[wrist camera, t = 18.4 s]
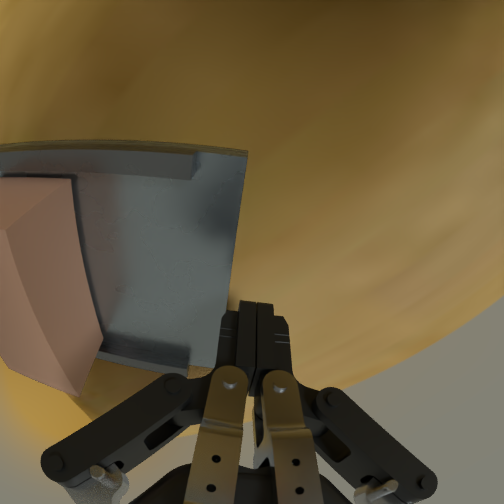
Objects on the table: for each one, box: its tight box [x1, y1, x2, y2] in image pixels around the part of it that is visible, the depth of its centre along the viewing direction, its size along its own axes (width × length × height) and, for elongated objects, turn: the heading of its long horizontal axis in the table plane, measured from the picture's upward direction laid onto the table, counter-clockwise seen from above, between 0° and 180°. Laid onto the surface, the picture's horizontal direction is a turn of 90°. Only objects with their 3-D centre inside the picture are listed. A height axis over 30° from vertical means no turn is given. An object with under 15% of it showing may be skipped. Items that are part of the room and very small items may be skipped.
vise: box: [0, 140, 248, 377], centre depth 12 cm, size 26×14×6 cm, turn 81°
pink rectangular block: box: [0, 177, 104, 397], centre depth 12 cm, size 6×11×5 cm, turn 171°
